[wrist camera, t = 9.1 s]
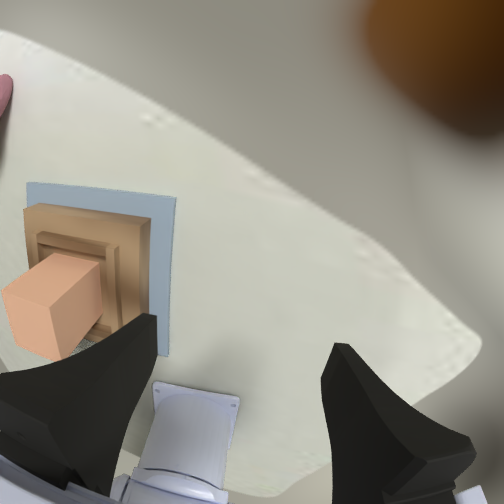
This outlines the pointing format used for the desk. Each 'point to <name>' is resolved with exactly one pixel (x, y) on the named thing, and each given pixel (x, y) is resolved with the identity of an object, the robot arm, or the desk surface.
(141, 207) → the mat
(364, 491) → the robot arm
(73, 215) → the walnut plinth
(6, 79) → the video game controller
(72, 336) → the terracotta block
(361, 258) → the desk surface
